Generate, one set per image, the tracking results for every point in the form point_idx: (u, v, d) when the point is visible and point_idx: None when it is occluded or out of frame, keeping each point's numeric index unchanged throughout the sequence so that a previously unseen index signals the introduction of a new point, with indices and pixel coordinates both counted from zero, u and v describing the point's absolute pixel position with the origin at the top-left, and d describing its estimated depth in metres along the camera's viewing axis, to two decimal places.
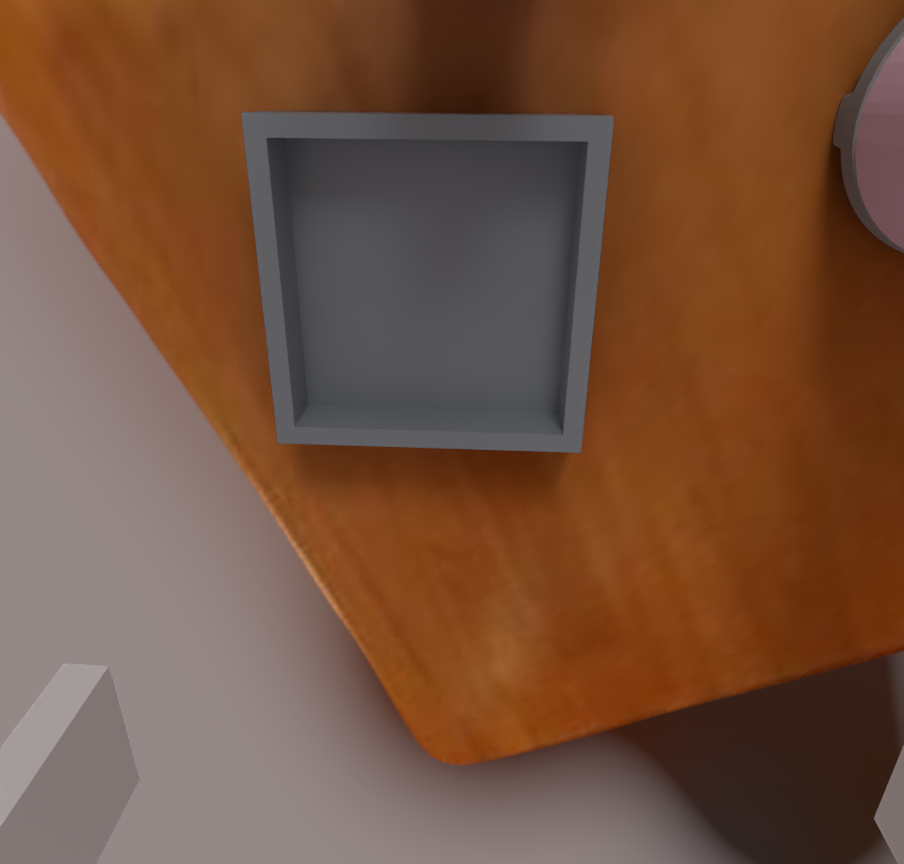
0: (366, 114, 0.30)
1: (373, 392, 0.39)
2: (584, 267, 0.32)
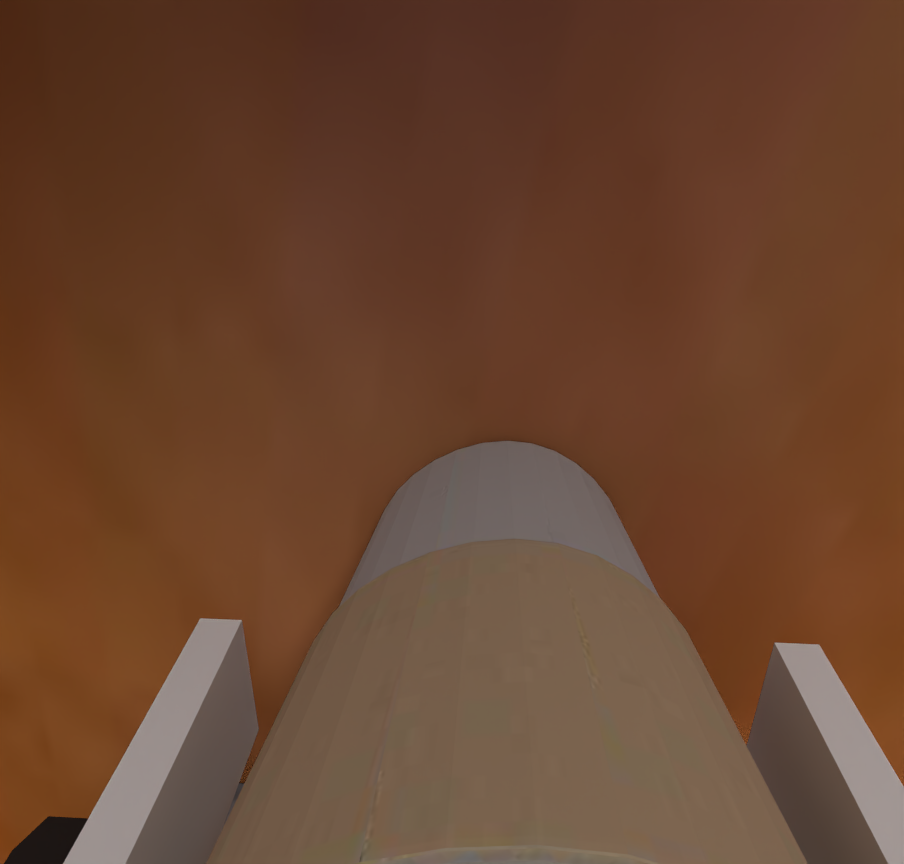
0: None
1: None
2: None
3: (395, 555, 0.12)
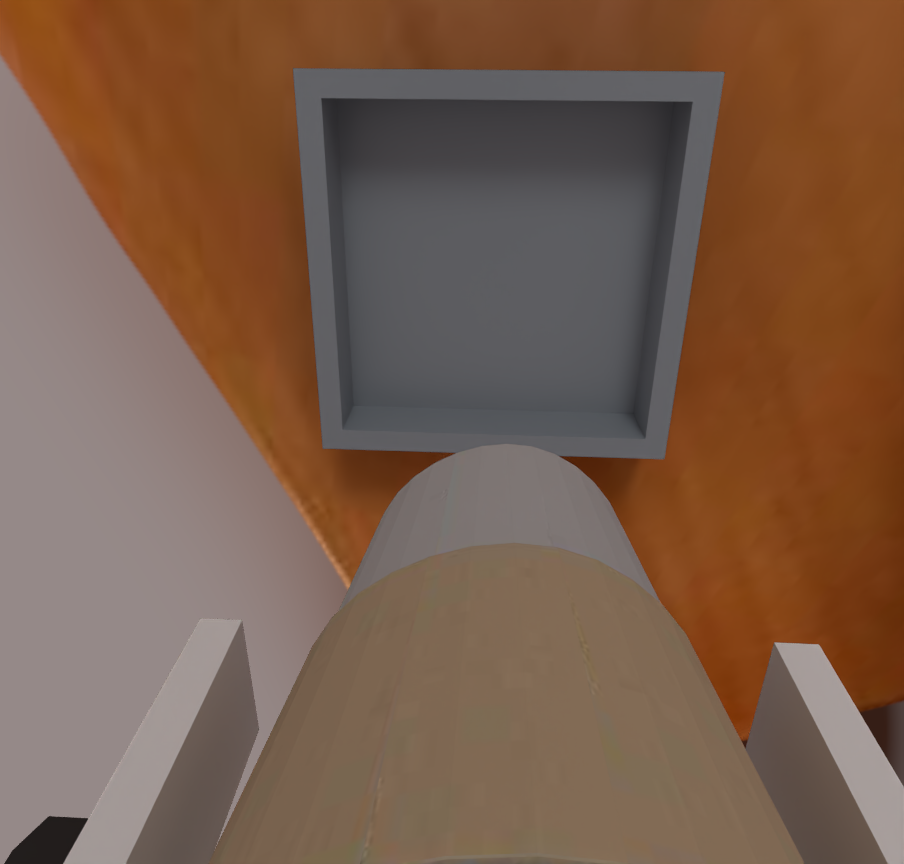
0: (437, 70, 0.26)
1: (427, 391, 0.35)
2: (680, 248, 0.28)
3: (395, 559, 0.12)
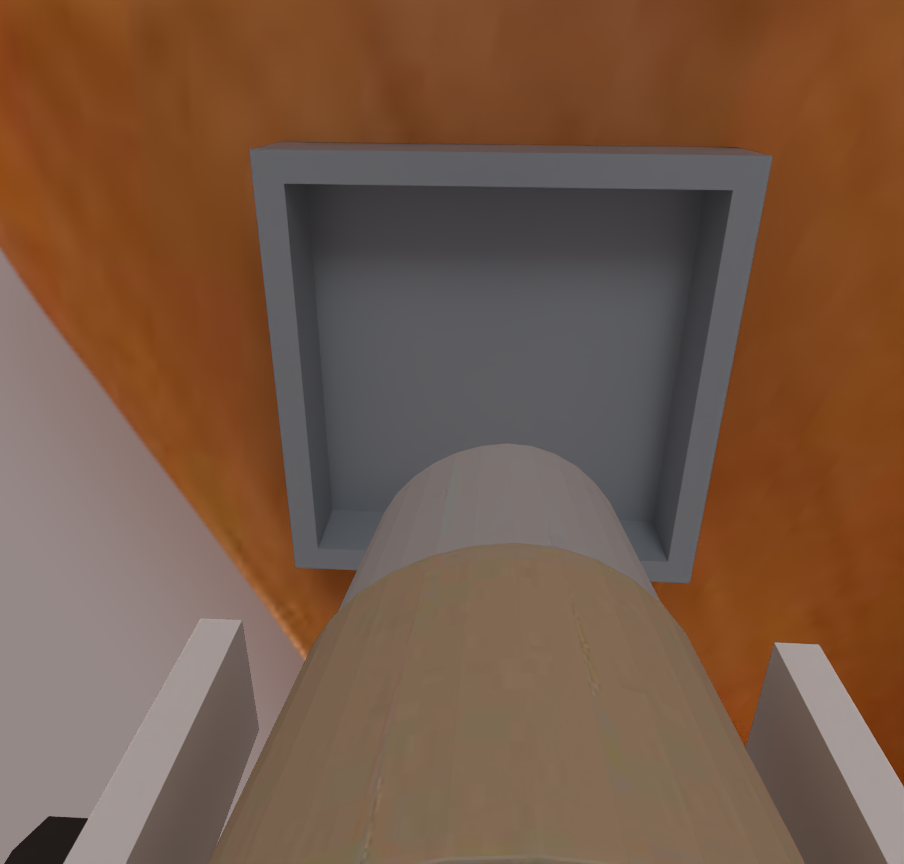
0: (423, 152, 0.22)
1: None
2: (713, 356, 0.24)
3: (394, 559, 0.12)
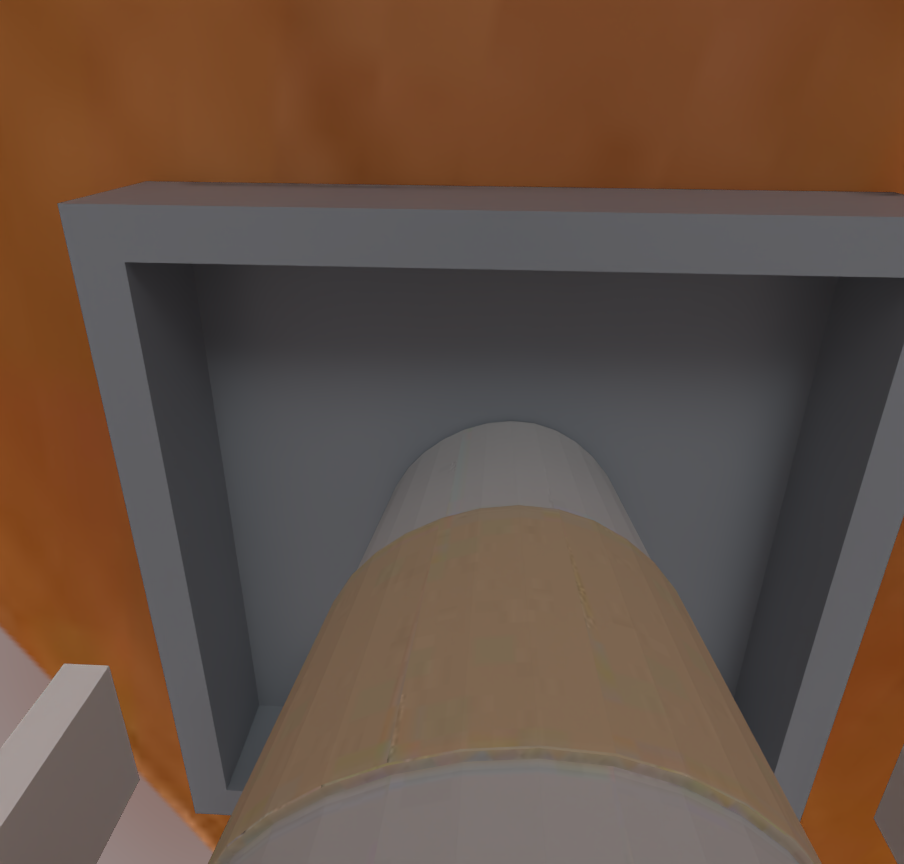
0: (368, 209, 0.12)
1: None
2: (861, 541, 0.14)
3: (408, 523, 0.13)
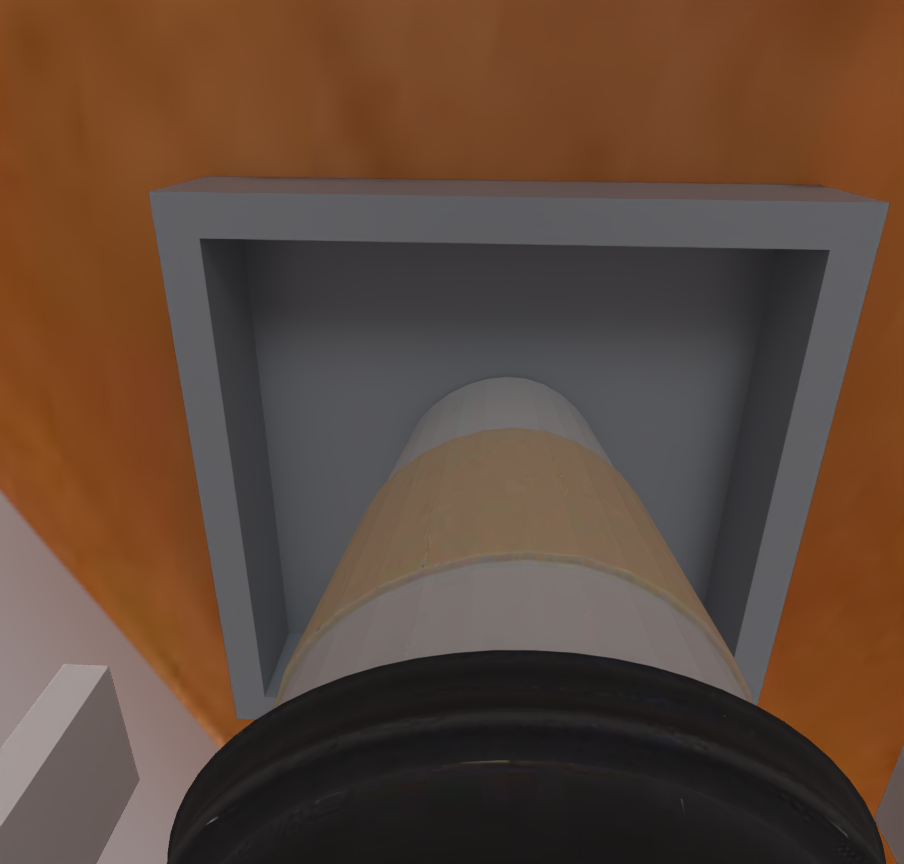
0: (393, 196, 0.15)
1: None
2: (791, 468, 0.18)
3: (425, 448, 0.16)
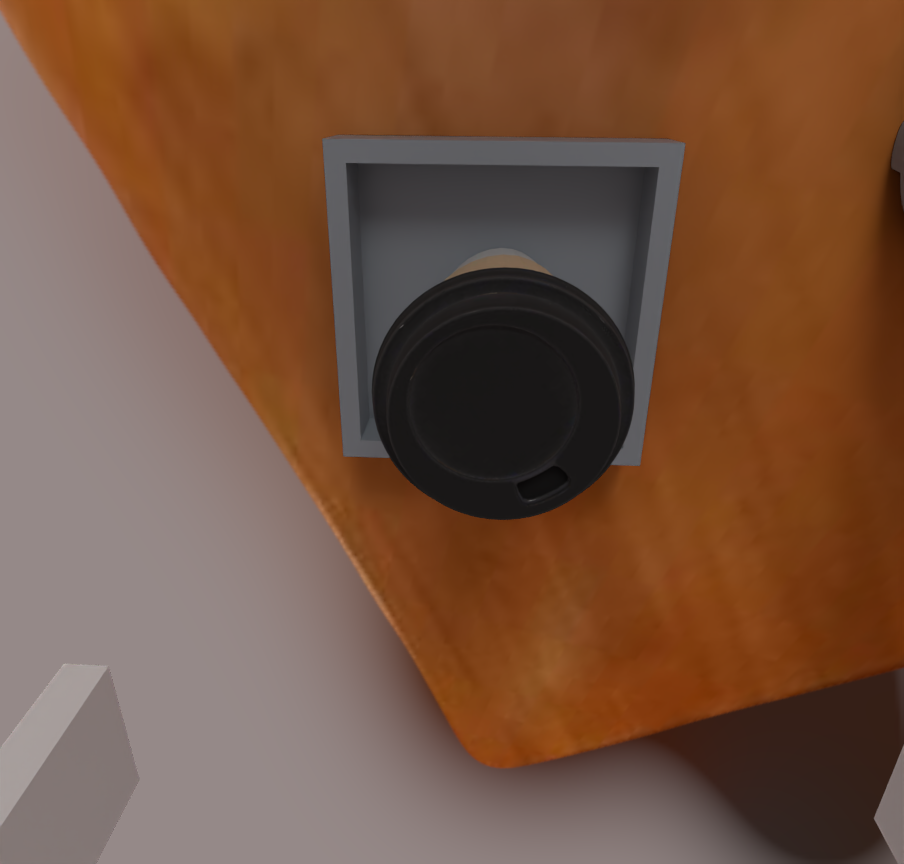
0: (444, 140, 0.31)
1: None
2: (650, 288, 0.33)
3: None
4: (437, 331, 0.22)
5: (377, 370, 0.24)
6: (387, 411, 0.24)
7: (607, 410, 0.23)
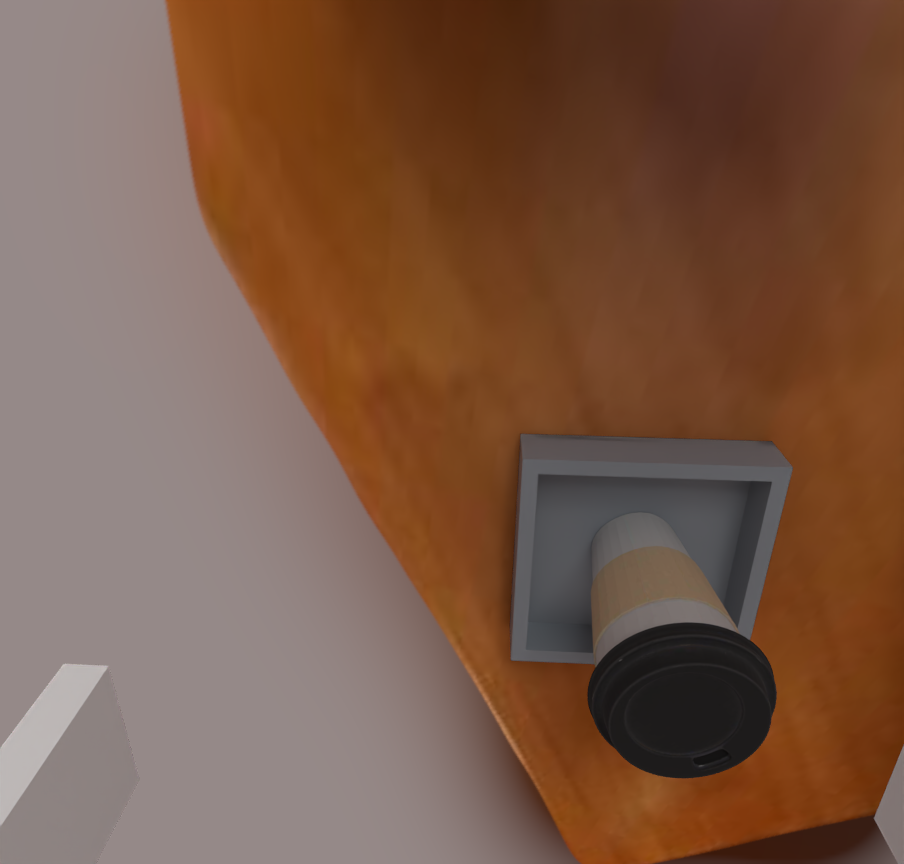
0: (613, 461, 0.42)
1: (576, 614, 0.51)
2: (760, 556, 0.44)
3: (618, 550, 0.43)
4: (652, 675, 0.33)
5: (599, 683, 0.35)
6: (610, 716, 0.35)
7: (762, 720, 0.34)
